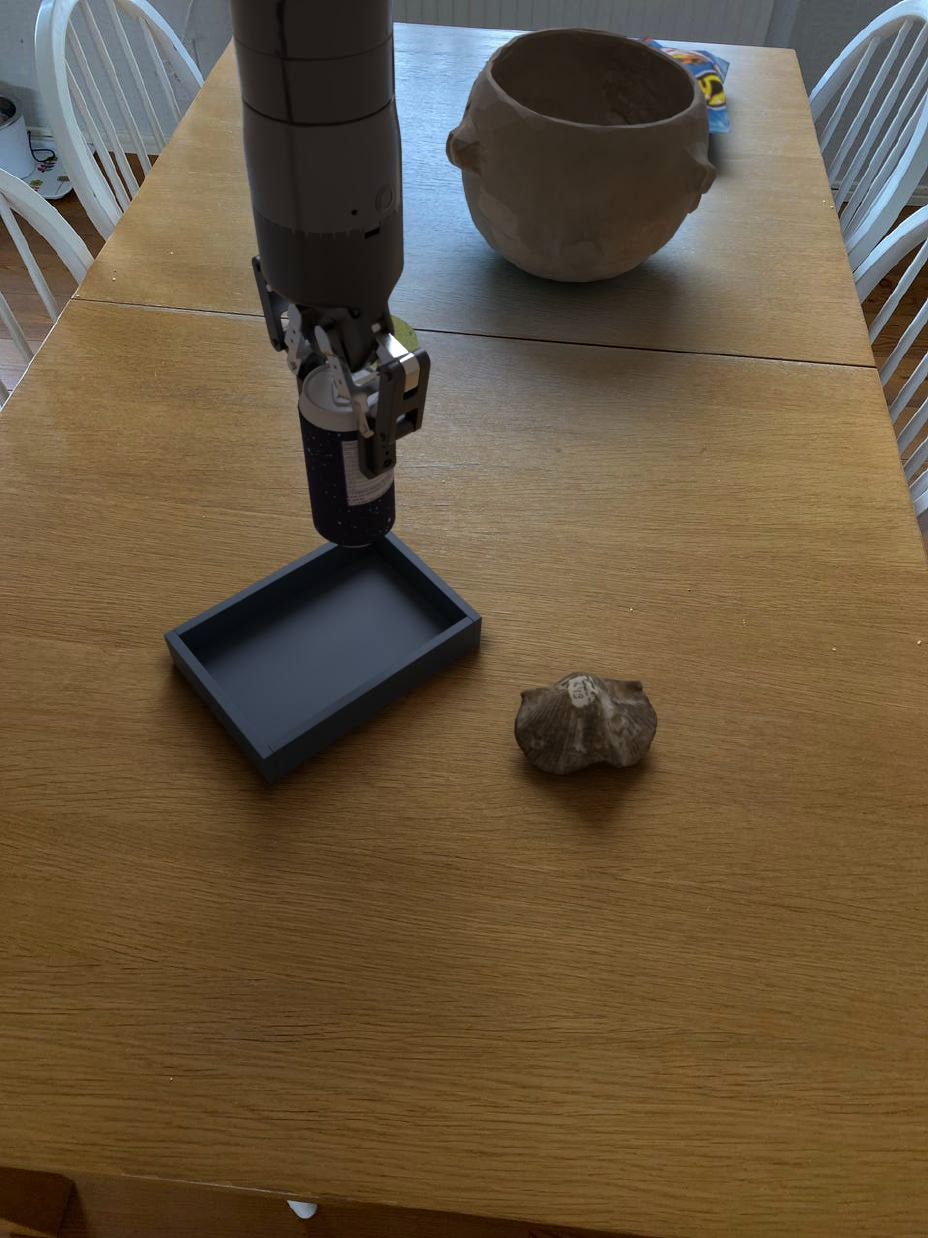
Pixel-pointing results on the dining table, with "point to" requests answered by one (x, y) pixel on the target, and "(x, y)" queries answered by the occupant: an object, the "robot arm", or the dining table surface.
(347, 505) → the beverage can
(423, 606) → the dark blue tray
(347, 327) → the robot arm
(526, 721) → the fossilized seashell
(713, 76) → the packet
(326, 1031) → the dining table surface
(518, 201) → the bowl
